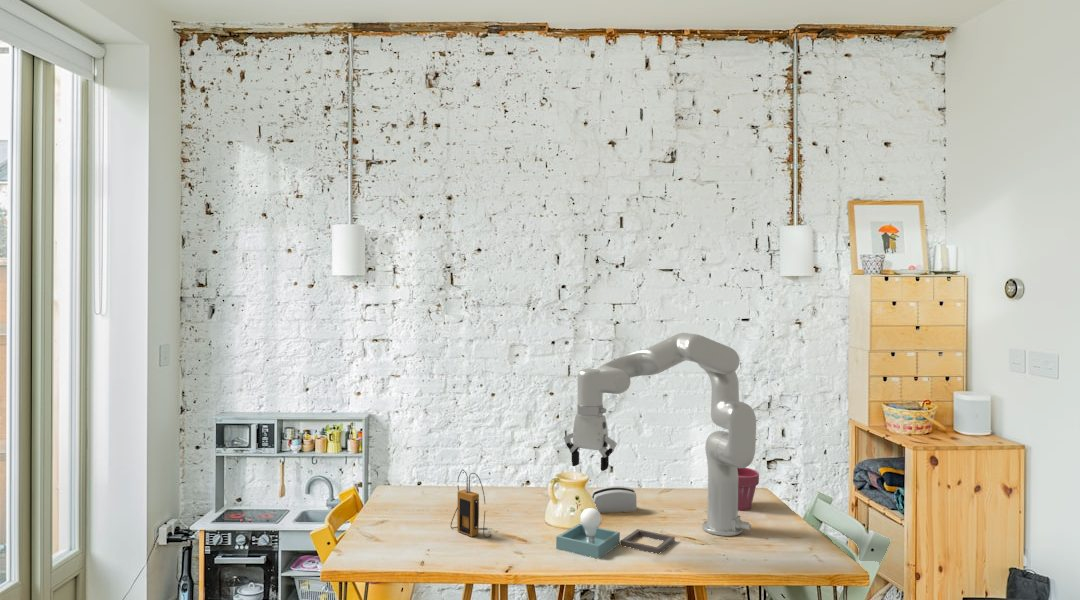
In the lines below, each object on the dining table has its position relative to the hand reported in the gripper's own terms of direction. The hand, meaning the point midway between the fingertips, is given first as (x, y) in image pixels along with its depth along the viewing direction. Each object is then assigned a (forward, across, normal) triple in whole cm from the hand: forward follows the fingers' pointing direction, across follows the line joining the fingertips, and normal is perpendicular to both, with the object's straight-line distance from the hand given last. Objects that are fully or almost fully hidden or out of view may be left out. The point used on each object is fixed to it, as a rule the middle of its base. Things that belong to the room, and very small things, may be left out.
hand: (589, 467), depth 212 cm
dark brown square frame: (+24, -14, -12) cm, 30 cm away
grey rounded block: (+24, +9, -34) cm, 43 cm away
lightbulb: (+23, 0, 0) cm, 23 cm away
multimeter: (+24, +36, +8) cm, 44 cm away
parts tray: (+24, 0, 0) cm, 24 cm away
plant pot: (+25, -26, -64) cm, 73 cm away
